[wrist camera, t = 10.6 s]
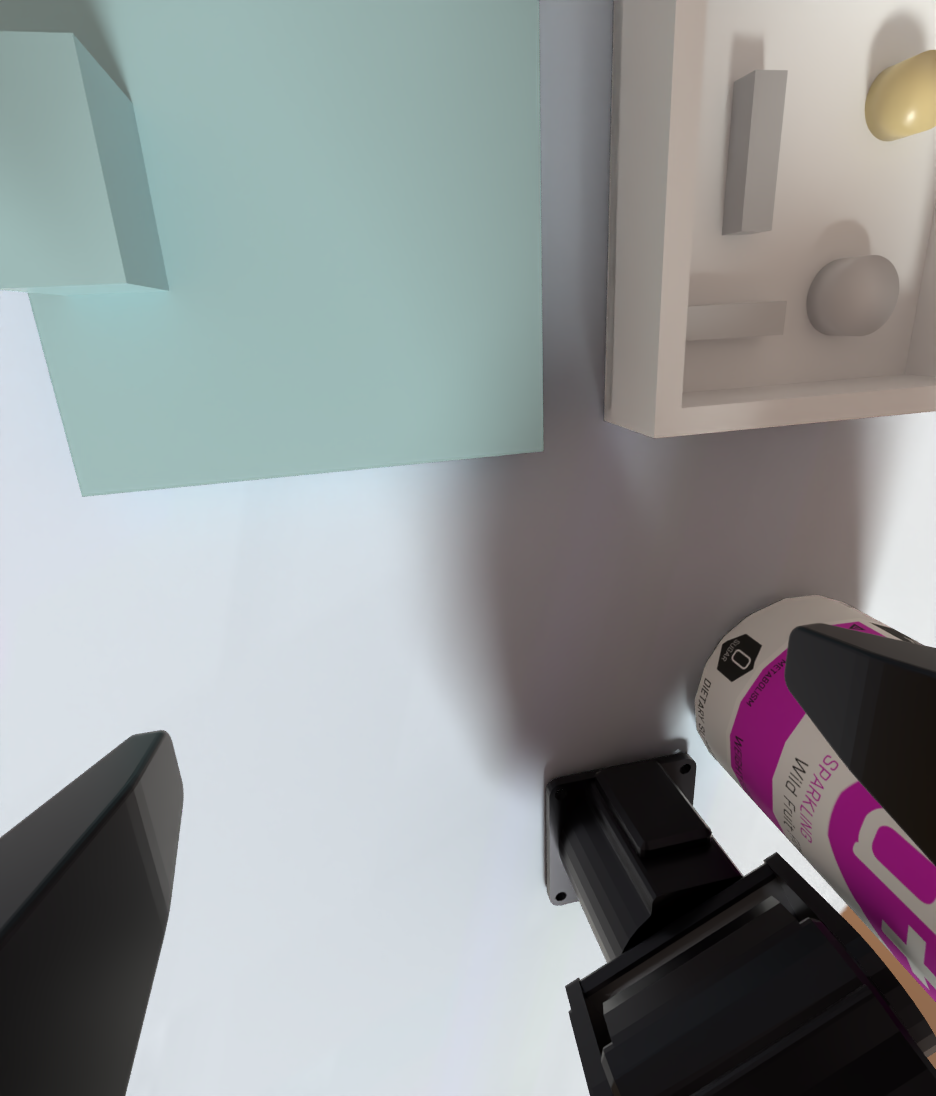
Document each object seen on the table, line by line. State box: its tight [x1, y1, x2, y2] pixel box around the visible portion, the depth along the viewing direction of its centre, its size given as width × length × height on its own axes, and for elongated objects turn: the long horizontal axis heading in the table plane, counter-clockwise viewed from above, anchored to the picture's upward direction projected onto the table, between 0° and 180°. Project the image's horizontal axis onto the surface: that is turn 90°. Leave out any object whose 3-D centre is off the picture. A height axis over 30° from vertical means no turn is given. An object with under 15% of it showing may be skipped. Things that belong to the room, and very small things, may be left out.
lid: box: [0, 0, 544, 497], centre depth 15 cm, size 14×13×6 cm
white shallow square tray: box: [604, 0, 936, 438], centre depth 19 cm, size 13×12×4 cm
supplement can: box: [695, 595, 936, 1002], centre depth 20 cm, size 8×8×15 cm
